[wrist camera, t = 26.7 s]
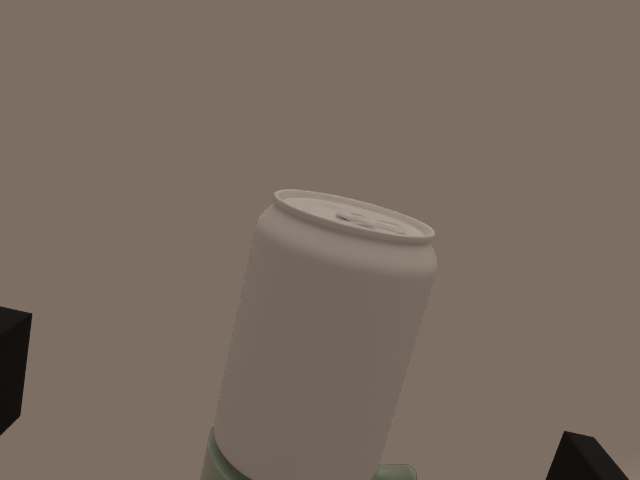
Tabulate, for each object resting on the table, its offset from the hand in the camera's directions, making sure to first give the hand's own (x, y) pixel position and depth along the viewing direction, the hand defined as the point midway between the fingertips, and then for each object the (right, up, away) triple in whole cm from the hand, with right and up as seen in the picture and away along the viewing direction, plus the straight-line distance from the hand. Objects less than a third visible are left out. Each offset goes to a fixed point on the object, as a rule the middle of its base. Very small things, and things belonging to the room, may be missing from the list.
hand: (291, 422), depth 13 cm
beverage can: (-1, -6, +13) cm, 14 cm away
